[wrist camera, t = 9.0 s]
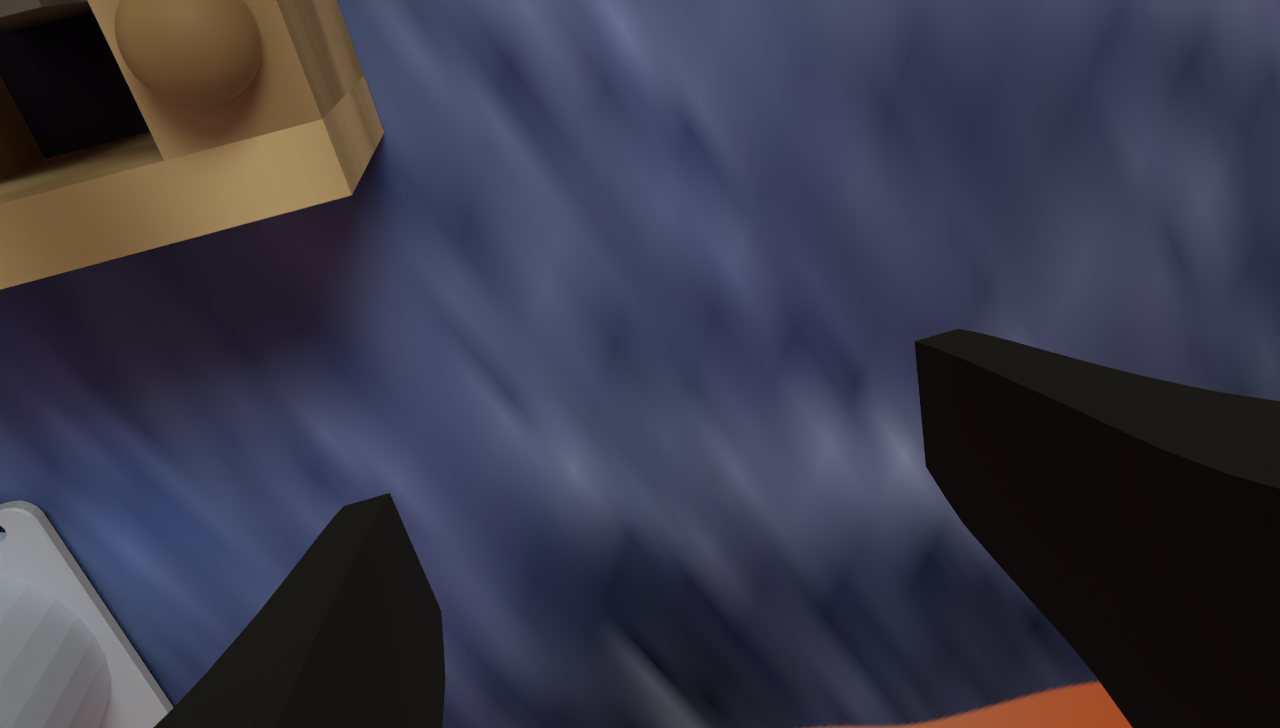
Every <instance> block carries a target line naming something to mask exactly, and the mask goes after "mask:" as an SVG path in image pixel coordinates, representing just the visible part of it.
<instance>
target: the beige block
mask: <svg viewBox="0 0 1280 728" xmlns="http://www.w3.org/2000/svg"><path fill="white" fill-rule="evenodd" d="M91 12H93V11H92V9H91V7H90V5H89V3H88V0H0V34H4V33H10V32H15V31H19V30H23V29H27V28H31V27H35V26H39V25H43V24H47V23H51V22H55V21H59V20H63V19H67V18H71V17H75V16H79V15H83V14H87V13H91Z"/></svg>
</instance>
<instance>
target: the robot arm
mask: <svg viewBox="0 0 1280 728" xmlns="http://www.w3.org/2000/svg"><path fill="white" fill-rule="evenodd" d="M915 350H916V362H917V373H918V384H919V395H920V406H921V417H922V428H923V439H924V450H925V461H926V467H927V469H928V471H929V472H930V474H931V475H932V477H933V478H934V480H935V482H936V483H937V485H938V486H939V488H940V489H941V491H942V493H943V494H944V496H945V497H946V499H947V500H948V502H949V503H950V505H951V506H952V508H953V509H954V511H955V512H956V514H957V515H958V517H959V518H960V519H961V521H962V522H963V524H964V525H965V526H966V527H967V528H968V530H969V531H970V532H971V533H972V534H973V536H974V537H975V538H976V539H977V540H978V541H979V542H980V544H981V545H982V546H983V547H984V548H985V549H986V550H987V552H988V553H989V554H990V555H991V556H992V557H993V558H994V560H995V561H996V562H997V563H998V564H999V565H1000V566H1001V568H1002V569H1003V570H1004V571H1005V572H1006V573H1007V574H1008V575H1009V577H1010V578H1011V579H1012V580H1013V581H1014V582H1015V583H1016V584H1017V586H1018V587H1019V588H1020V589H1021V590H1022V591H1023V592H1024V593H1025V595H1026V596H1027V597H1028V598H1029V599H1030V600H1031V601H1032V602H1033V604H1034V605H1035V606H1036V607H1037V608H1038V609H1039V610H1040V611H1041V613H1042V614H1043V615H1044V616H1045V617H1046V618H1047V619H1048V620H1049V622H1050V623H1051V624H1052V625H1053V626H1054V627H1055V628H1056V629H1057V630H1058V632H1059V633H1060V634H1061V635H1062V636H1063V637H1064V638H1065V639H1066V641H1067V642H1068V643H1069V644H1070V645H1071V646H1072V648H1073V649H1074V650H1075V651H1076V652H1077V654H1078V655H1079V656H1080V657H1081V659H1082V660H1083V661H1084V662H1085V664H1086V665H1087V666H1088V667H1089V668H1090V670H1091V671H1092V672H1093V673H1094V675H1095V676H1096V677H1097V679H1098V680H1099V681H1100V683H1101V684H1102V686H1103V687H1104V688H1105V690H1106V691H1107V692H1108V694H1109V695H1110V697H1111V698H1112V700H1113V701H1114V702H1115V704H1116V705H1117V707H1118V708H1119V709H1120V711H1121V712H1122V713H1123V715H1124V716H1125V718H1126V719H1127V720H1128V722H1129V723H1130V725H1131V726H1132V727H1133V728H1280V401H1273V400H1267V399H1260V398H1254V397H1247V396H1241V395H1234V394H1228V393H1222V392H1217V391H1211V390H1206V389H1200V388H1195V387H1191V386H1186V385H1181V384H1177V383H1172V382H1168V381H1163V380H1159V379H1154V378H1150V377H1145V376H1140V375H1136V374H1132V373H1128V372H1124V371H1120V370H1116V369H1112V368H1108V367H1104V366H1100V365H1097V364H1093V363H1089V362H1085V361H1082V360H1078V359H1074V358H1070V357H1067V356H1063V355H1060V354H1056V353H1052V352H1049V351H1045V350H1042V349H1038V348H1034V347H1031V346H1027V345H1024V344H1020V343H1016V342H1013V341H1009V340H1005V339H1001V338H998V337H994V336H990V335H986V334H981V333H977V332H972V331H967V330H961V329H956V330H953V331H949V332H946V333H942V334H939V335H935V336H932V337H928V338H925V339H921V340H918V341H915ZM0 526H1V527H2V528H4V529H5V531H6V532H0V728H442V721H443V708H444V693H445V663H444V644H443V631H442V617H441V610H440V607H439V605H438V603H437V600H436V598H435V596H434V594H433V591H432V589H431V587H430V584H429V582H428V580H427V578H426V575H425V573H424V571H423V568H422V566H421V564H420V562H419V559H418V557H417V555H416V552H415V550H414V548H413V545H412V543H411V541H410V539H409V536H408V534H407V532H406V529H405V527H404V525H403V523H402V520H401V518H400V516H399V513H398V511H397V509H396V507H395V504H394V502H393V500H392V497H391V495H390V493H388V494H385V495H381V496H378V497H374V498H371V499H367V500H364V501H360V502H357V503H354V504H350V505H347V506H344V507H343V508H342V509H341V510H340V511H339V512H338V513H337V514H336V515H335V517H334V518H333V519H332V520H331V521H330V523H329V524H328V525H327V526H326V527H325V529H324V530H323V531H322V533H321V534H320V535H319V536H318V538H317V539H316V540H315V541H314V543H313V544H312V545H311V547H310V548H309V549H308V551H307V552H306V553H305V554H304V556H303V557H302V558H301V560H300V561H299V562H298V563H297V565H296V566H295V567H294V569H293V570H292V571H291V572H290V574H289V575H288V576H287V577H286V579H285V580H284V581H283V582H282V584H281V585H280V586H279V588H278V589H277V590H276V591H275V593H274V594H273V595H272V596H271V598H270V599H269V600H268V601H267V603H266V604H265V605H264V607H263V608H262V609H261V610H260V611H259V613H258V614H257V615H256V616H255V617H254V619H253V620H252V621H251V622H250V623H249V624H248V625H247V627H246V628H245V629H244V630H243V631H242V632H241V634H240V635H239V636H238V637H237V638H236V639H235V641H234V642H233V643H232V644H231V645H230V646H229V647H228V649H227V650H226V651H225V652H224V653H223V654H222V656H221V657H220V658H219V659H218V660H217V661H216V663H215V664H214V665H213V666H212V667H211V668H210V669H209V671H208V672H207V673H206V674H205V675H204V676H203V677H202V678H201V679H200V680H199V682H198V683H197V684H196V685H195V686H194V687H193V688H192V689H191V690H190V691H189V692H188V693H187V694H186V695H185V696H184V697H183V698H182V699H181V700H180V702H179V703H178V704H177V705H176V706H175V707H174V708H173V706H172V705H171V703H170V702H169V700H168V699H167V697H166V696H165V694H164V693H163V691H162V690H161V688H160V687H159V685H158V684H157V682H156V681H155V679H154V678H153V676H152V675H151V673H150V672H149V670H148V669H147V667H146V666H145V664H144V663H143V661H142V660H141V658H140V657H139V655H138V654H137V652H136V651H135V649H134V648H133V646H132V645H131V643H130V642H129V640H128V639H127V637H126V636H125V634H124V633H123V631H122V630H121V628H120V627H119V625H118V624H117V622H116V621H115V619H114V618H113V616H112V615H111V613H110V612H109V610H108V609H107V607H106V606H105V604H104V603H103V601H102V600H101V598H100V597H99V595H98V594H97V592H96V591H95V589H94V588H93V586H92V585H91V583H90V582H89V580H88V579H87V577H86V576H85V574H84V573H83V571H82V570H81V568H80V567H79V565H78V564H77V562H76V561H75V559H74V558H73V556H72V555H71V553H70V552H69V550H68V549H67V547H66V546H65V544H64V543H63V541H62V540H61V538H60V537H59V535H58V534H57V532H56V531H55V529H54V528H53V526H52V525H51V523H50V522H49V520H48V519H47V517H46V516H45V514H44V513H43V512H42V511H41V510H40V509H39V508H38V507H37V506H35V505H33V504H32V503H30V502H25V501H20V500H19V501H10V502H7V503H3V504H0Z"/></svg>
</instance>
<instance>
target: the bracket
mask: <svg viewBox="0 0 1280 728" xmlns="http://www.w3.org/2000/svg"><path fill="white" fill-rule="evenodd" d="M88 3H89V5H90V7H91V9H92V11H93V13H94V15H95V17H96V19H97V21H98V23H99V26H100V28H101V30H102V32H103V34H104V36H105V38H106V40H107V42H108V44H109V46H110V48H111V51H112V53H113V55H114V57H115V59H116V61H117V63H118V65H119V67H120V69H121V71H122V74H123V76H124V78H125V80H126V82H127V84H128V86H129V88H130V90H131V92H132V94H133V96H134V99H135V101H136V103H137V105H138V107H139V109H140V111H141V113H142V115H143V117H144V119H145V122H146V124H147V126H148V128H149V130H150V131H149V132H145V133H142V134H138V135H134V136H130V137H126V138H122V139H119V140H115V141H111V142H107V143H103V144H99V145H95V146H92V147H88V148H84V149H80V150H76V151H72V152H69V153H65V154H61V155H57V156H53V157H49V158H46V159H45V157H44V155H43V153H42V151H41V149H40V148H39V146H38V144H37V142H36V140H35V138H34V136H33V135H32V133H31V131H30V129H29V127H28V125H27V124H26V122H25V120H24V118H23V116H22V114H21V112H20V111H19V109H18V107H17V105H16V103H15V101H14V100H13V98H12V96H11V94H10V92H9V90H8V88H7V87H6V85H5V83H4V81H3V79H2V77H1V75H0V290H1V289H4V288H8V287H12V286H16V285H19V284H23V283H27V282H31V281H34V280H38V279H42V278H45V277H49V276H53V275H57V274H60V273H64V272H68V271H72V270H75V269H79V268H83V267H86V266H90V265H94V264H98V263H101V262H105V261H109V260H113V259H116V258H120V257H124V256H127V255H131V254H135V253H139V252H142V251H146V250H150V249H154V248H157V247H161V246H165V245H168V244H172V243H176V242H180V241H183V240H187V239H191V238H195V237H198V236H202V235H206V234H209V233H213V232H217V231H221V230H224V229H228V228H232V227H236V226H239V225H243V224H247V223H250V222H254V221H258V220H262V219H265V218H269V217H273V216H277V215H280V214H284V213H288V212H291V211H295V210H299V209H303V208H306V207H310V206H314V205H318V204H321V203H325V202H329V201H332V200H336V199H340V198H344V197H347V196H351V195H352V194H353V192H354V190H355V188H356V186H357V184H358V182H359V180H360V178H361V176H362V175H363V173H364V171H365V169H366V167H367V165H368V163H369V161H370V159H371V157H372V155H373V153H374V151H375V149H376V147H377V146H378V144H379V142H380V140H381V138H382V136H383V134H384V131H383V128H382V125H381V123H380V120H379V117H378V114H377V111H376V109H375V106H374V103H373V100H372V97H371V95H370V92H369V89H368V86H367V83H366V81H365V78H364V75H363V72H362V69H361V67H360V64H359V61H358V58H357V55H356V53H355V50H354V47H353V44H352V41H351V39H350V36H349V33H348V30H347V27H346V25H345V22H344V19H343V16H342V13H341V11H340V8H339V5H338V2H337V0H88Z"/></svg>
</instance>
